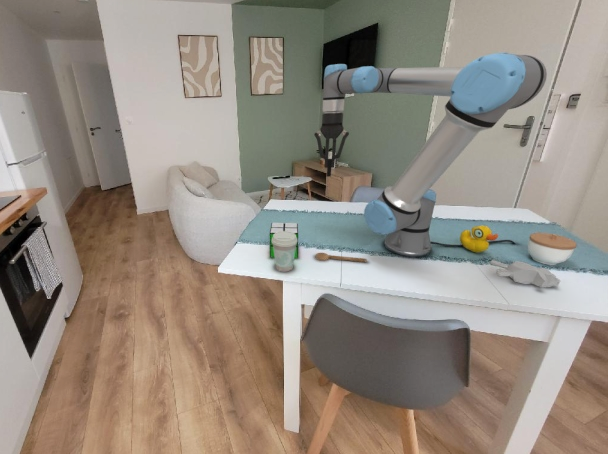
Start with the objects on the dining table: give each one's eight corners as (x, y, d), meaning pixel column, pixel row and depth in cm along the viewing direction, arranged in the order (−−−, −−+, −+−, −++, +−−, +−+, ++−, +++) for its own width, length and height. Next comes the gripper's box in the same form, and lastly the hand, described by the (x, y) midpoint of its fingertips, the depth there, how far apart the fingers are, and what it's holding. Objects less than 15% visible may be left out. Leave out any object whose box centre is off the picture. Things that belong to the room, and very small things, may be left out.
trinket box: (558, 255, 98) (569, 230, 95) (574, 271, 89) (587, 244, 86) (517, 250, 103) (526, 226, 99) (529, 265, 94) (539, 239, 90)
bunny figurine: (569, 281, 78) (503, 267, 83) (559, 296, 80) (495, 282, 85) (551, 264, 86) (491, 252, 91) (542, 278, 88) (484, 266, 93)
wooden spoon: (366, 259, 102) (366, 256, 102) (367, 265, 98) (367, 262, 98) (316, 254, 107) (316, 251, 107) (315, 260, 103) (315, 257, 103)
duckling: (496, 257, 99) (505, 230, 95) (484, 259, 98) (493, 232, 94) (464, 243, 109) (471, 218, 106) (453, 245, 108) (460, 221, 104)
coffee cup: (266, 268, 99) (266, 236, 95) (281, 258, 105) (281, 228, 100) (287, 276, 94) (287, 243, 89) (301, 266, 100) (302, 234, 95)
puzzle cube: (297, 246, 114) (297, 222, 110) (297, 258, 105) (298, 233, 101) (271, 245, 115) (271, 222, 111) (270, 258, 106) (269, 233, 102)
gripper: (351, 111, 108) (345, 173, 118) (315, 112, 112) (313, 173, 121) (351, 112, 102) (346, 178, 111) (314, 113, 105) (311, 177, 115)
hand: (328, 175), depth 116 cm, fingers closed
